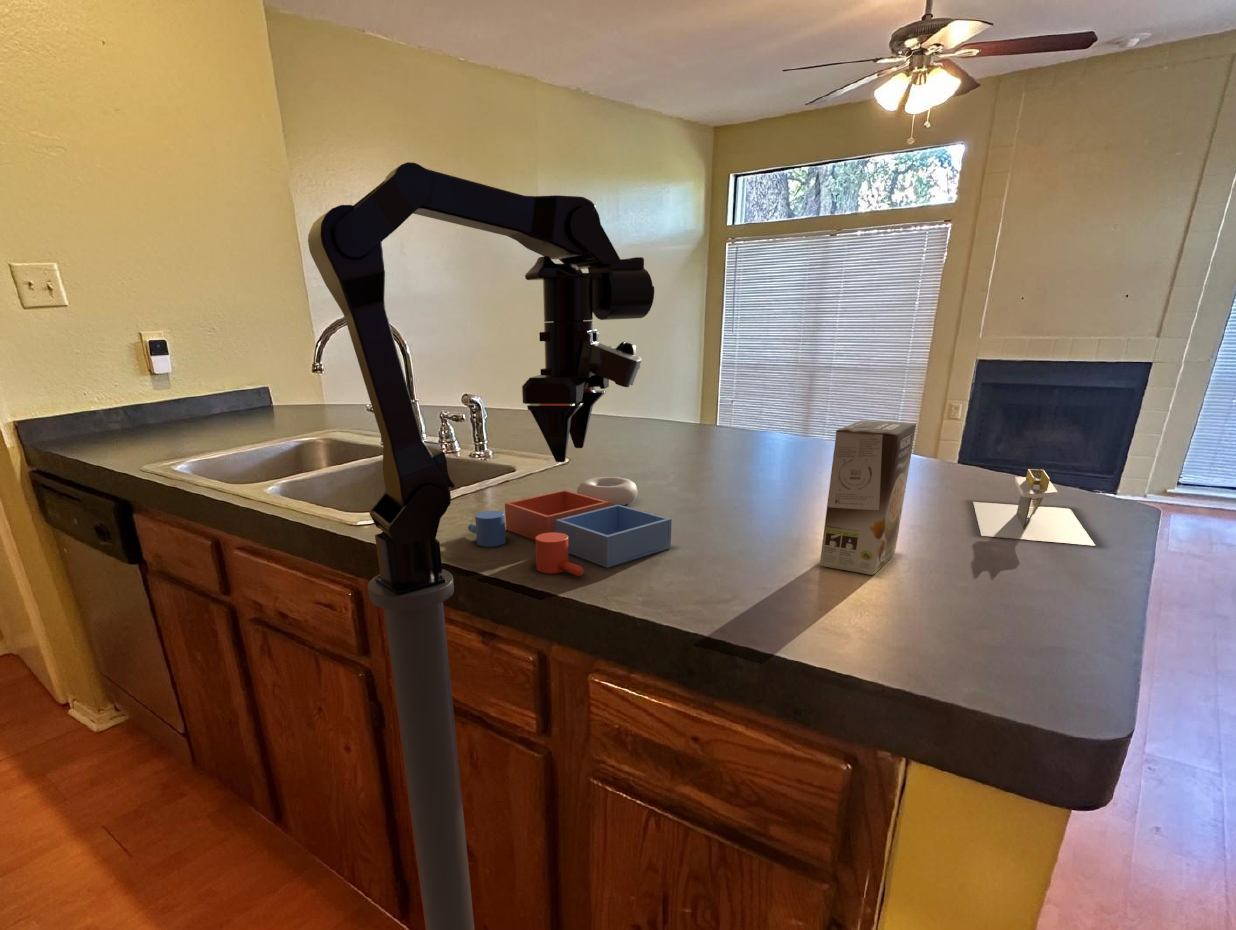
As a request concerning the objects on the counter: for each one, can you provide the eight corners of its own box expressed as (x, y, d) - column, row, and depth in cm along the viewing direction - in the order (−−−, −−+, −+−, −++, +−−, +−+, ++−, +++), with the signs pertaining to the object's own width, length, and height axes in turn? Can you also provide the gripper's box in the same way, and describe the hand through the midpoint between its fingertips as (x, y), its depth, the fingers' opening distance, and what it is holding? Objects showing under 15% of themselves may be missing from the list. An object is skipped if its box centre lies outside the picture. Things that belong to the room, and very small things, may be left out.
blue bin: (607, 568, 85) (607, 537, 83) (556, 548, 92) (555, 519, 91) (670, 548, 91) (671, 518, 89) (617, 531, 98) (618, 504, 97)
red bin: (547, 545, 94) (547, 517, 92) (506, 529, 102) (504, 503, 100) (609, 528, 100) (609, 501, 98) (565, 514, 108) (564, 489, 106)
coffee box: (875, 576, 78) (897, 434, 72) (818, 566, 82) (834, 430, 76) (896, 554, 85) (917, 421, 79) (842, 545, 89) (858, 418, 83)
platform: (1069, 508, 100) (1081, 463, 97) (1095, 545, 85) (1110, 493, 82) (972, 501, 105) (981, 458, 102) (981, 535, 90) (991, 486, 88)
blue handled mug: (511, 542, 96) (509, 514, 94) (487, 548, 94) (485, 520, 92) (482, 530, 101) (480, 504, 100) (458, 536, 99) (456, 509, 98)
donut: (646, 498, 115) (592, 491, 120) (647, 477, 114) (593, 472, 119) (622, 513, 108) (565, 505, 112) (622, 491, 106) (565, 484, 111)
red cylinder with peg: (530, 567, 86) (528, 536, 84) (555, 560, 88) (554, 530, 87) (568, 584, 80) (567, 551, 79) (594, 575, 82) (594, 544, 81)
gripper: (621, 320, 70) (619, 472, 76) (649, 318, 87) (645, 442, 92) (518, 324, 74) (523, 469, 79) (563, 321, 90) (565, 441, 96)
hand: (570, 454), depth 87 cm, fingers open, 9 cm apart
